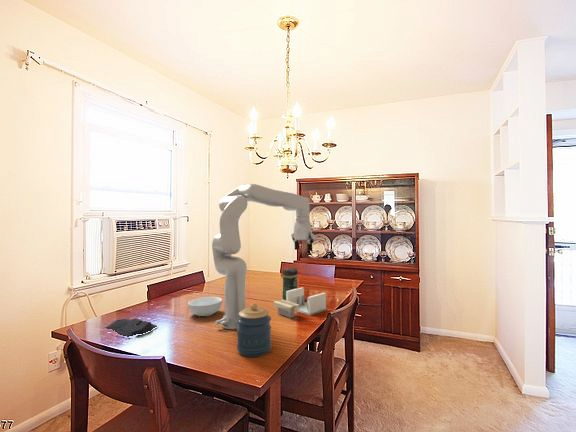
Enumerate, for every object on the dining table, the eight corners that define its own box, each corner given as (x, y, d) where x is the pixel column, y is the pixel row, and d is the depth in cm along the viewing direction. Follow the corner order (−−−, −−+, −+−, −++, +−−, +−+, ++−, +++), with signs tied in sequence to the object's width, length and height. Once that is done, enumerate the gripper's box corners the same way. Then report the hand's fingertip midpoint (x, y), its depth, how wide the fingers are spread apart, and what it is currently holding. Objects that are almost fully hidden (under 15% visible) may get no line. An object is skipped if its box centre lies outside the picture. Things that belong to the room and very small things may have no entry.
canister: (230, 354, 115) (229, 306, 115) (247, 340, 127) (246, 297, 127) (262, 360, 111) (261, 310, 110) (276, 345, 123) (276, 300, 122)
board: (290, 312, 151) (290, 307, 151) (273, 306, 161) (273, 301, 161) (299, 309, 155) (299, 304, 155) (282, 304, 165) (282, 299, 165)
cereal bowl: (211, 307, 173) (211, 294, 173) (228, 313, 162) (228, 300, 161) (182, 314, 162) (182, 301, 161) (198, 322, 150) (198, 307, 150)
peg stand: (310, 315, 157) (309, 297, 157) (286, 307, 170) (286, 291, 170) (326, 310, 165) (325, 293, 164) (302, 303, 178) (302, 287, 178)
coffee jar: (292, 302, 179) (291, 270, 179) (280, 300, 183) (280, 269, 183) (300, 298, 188) (299, 267, 188) (288, 296, 192) (288, 266, 192)
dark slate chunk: (128, 322, 153) (128, 312, 153) (160, 328, 143) (160, 318, 143) (97, 333, 139) (97, 322, 139) (131, 341, 130) (130, 330, 130)
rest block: (289, 317, 154) (289, 310, 154) (278, 313, 161) (278, 306, 160) (294, 316, 156) (294, 309, 156) (282, 312, 163) (282, 305, 162)
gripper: (287, 219, 177) (287, 249, 178) (310, 219, 165) (310, 252, 165) (296, 219, 183) (296, 248, 183) (319, 219, 170) (319, 250, 171)
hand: (303, 250), depth 174 cm, fingers open, 9 cm apart
